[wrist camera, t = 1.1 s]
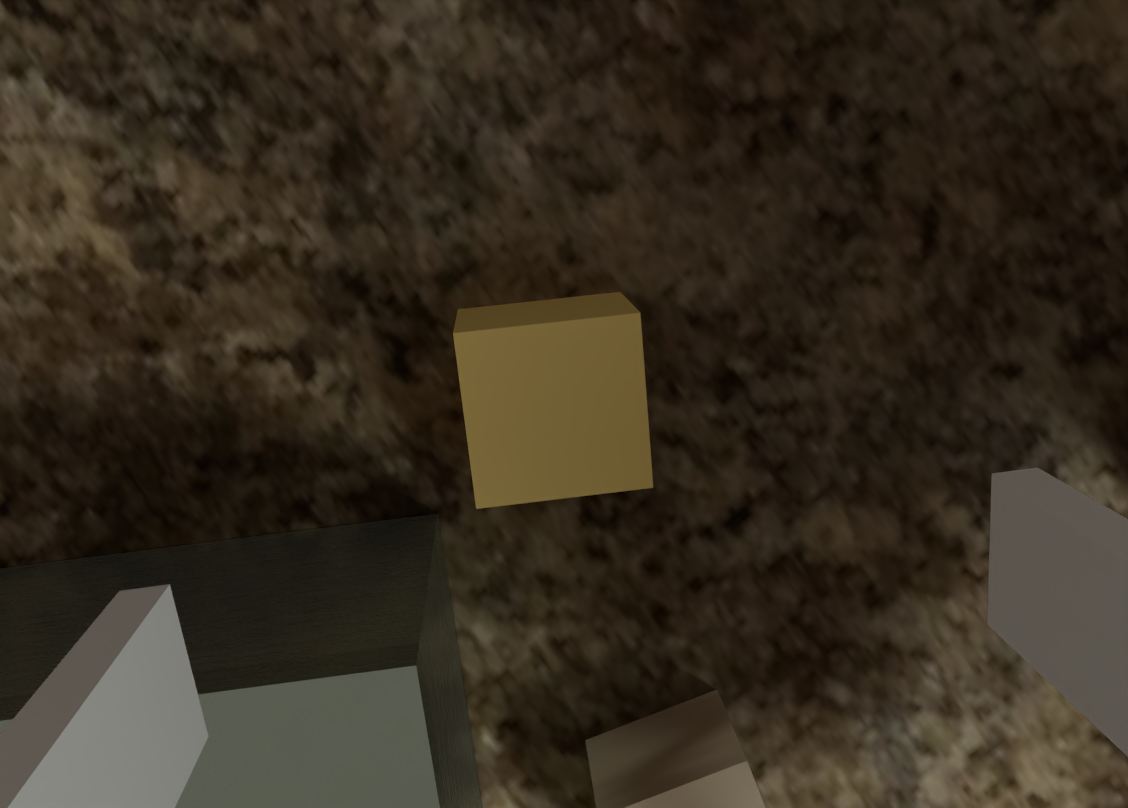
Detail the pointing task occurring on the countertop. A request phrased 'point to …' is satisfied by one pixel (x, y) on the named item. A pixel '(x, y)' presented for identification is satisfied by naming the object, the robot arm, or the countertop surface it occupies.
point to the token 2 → (673, 761)
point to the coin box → (285, 661)
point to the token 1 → (554, 398)
